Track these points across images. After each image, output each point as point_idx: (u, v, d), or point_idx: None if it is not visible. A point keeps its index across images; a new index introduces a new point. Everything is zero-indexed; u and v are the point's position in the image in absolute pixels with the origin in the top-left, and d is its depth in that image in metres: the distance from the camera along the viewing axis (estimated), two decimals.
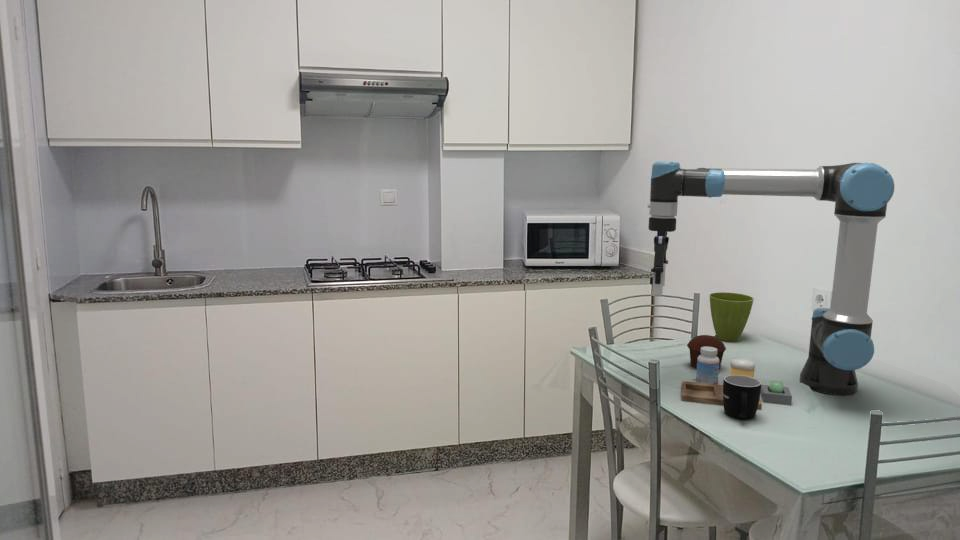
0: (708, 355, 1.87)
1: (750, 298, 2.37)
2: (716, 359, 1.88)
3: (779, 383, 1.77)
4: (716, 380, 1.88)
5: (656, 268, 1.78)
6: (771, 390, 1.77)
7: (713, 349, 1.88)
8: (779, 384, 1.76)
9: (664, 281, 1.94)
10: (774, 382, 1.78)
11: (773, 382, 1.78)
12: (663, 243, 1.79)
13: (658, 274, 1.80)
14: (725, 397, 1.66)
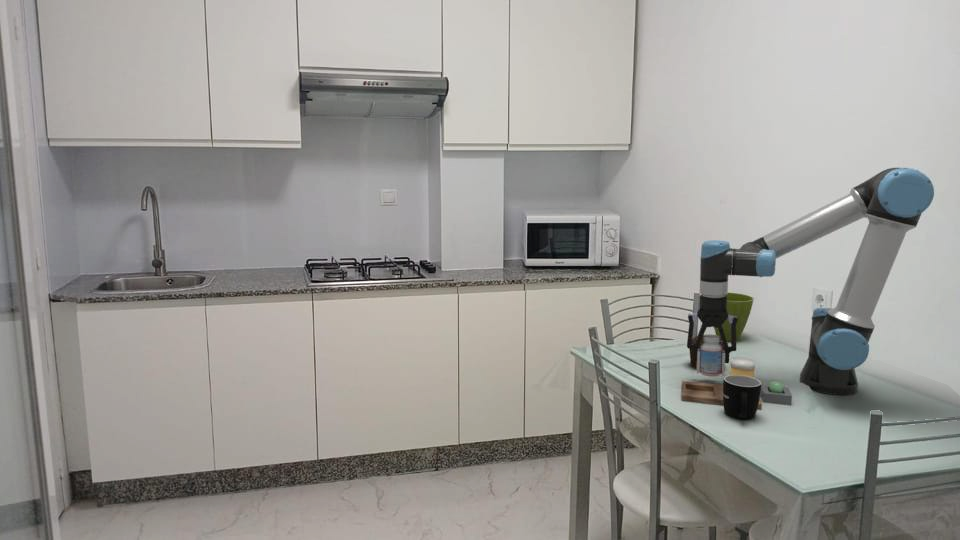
0: (711, 343, 1.87)
1: (750, 298, 2.37)
2: (719, 346, 1.87)
3: (779, 383, 1.77)
4: (720, 368, 1.88)
5: None
6: (771, 390, 1.77)
7: (716, 337, 1.88)
8: (779, 384, 1.76)
9: None
10: (774, 382, 1.78)
11: (773, 382, 1.78)
12: (689, 322, 1.89)
13: None
14: (725, 397, 1.66)
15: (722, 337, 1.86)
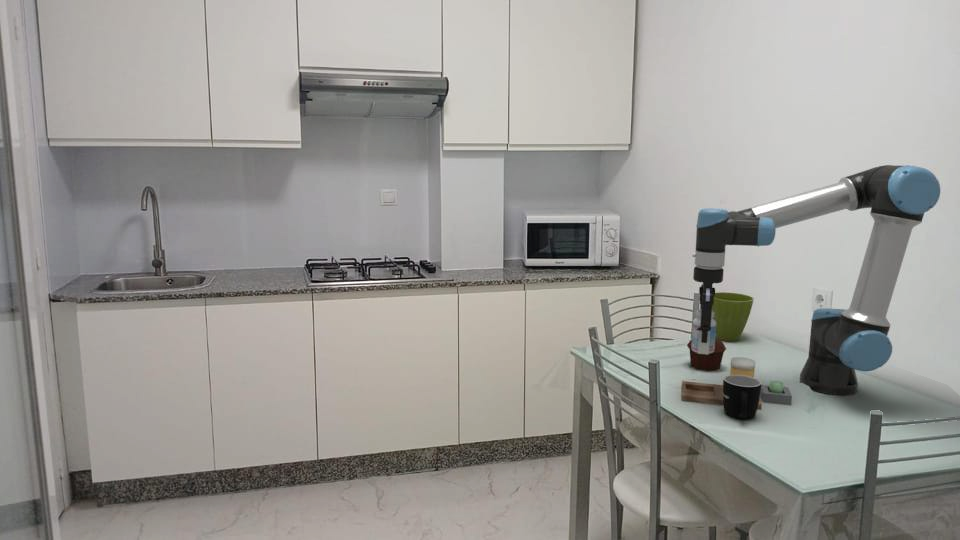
0: None
1: (750, 298, 2.37)
2: None
3: (779, 383, 1.77)
4: None
5: (703, 328, 1.71)
6: (771, 390, 1.77)
7: None
8: (779, 384, 1.76)
9: None
10: (774, 382, 1.78)
11: (773, 382, 1.78)
12: (711, 301, 1.70)
13: (705, 333, 1.73)
14: (725, 397, 1.66)
15: None
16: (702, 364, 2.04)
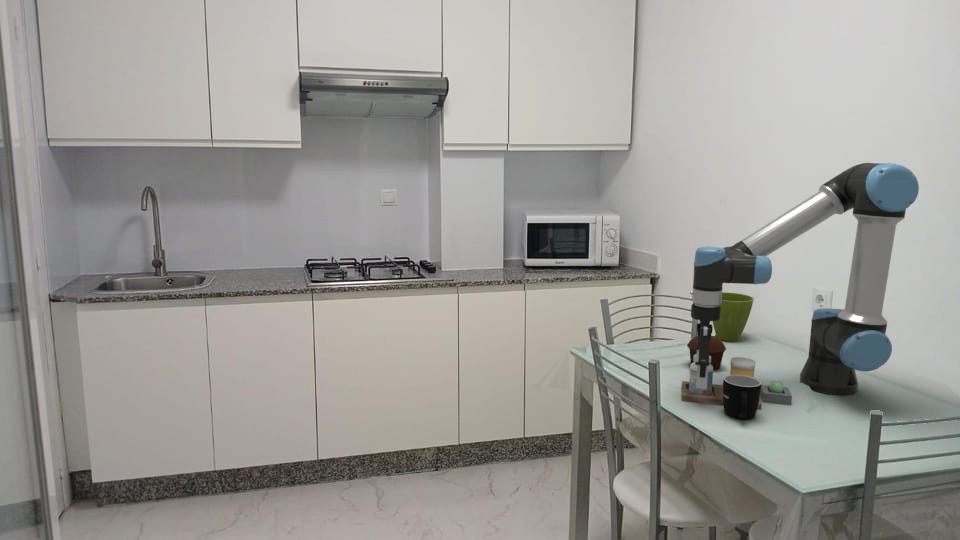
0: (710, 362, 1.78)
1: (750, 298, 2.37)
2: None
3: (779, 383, 1.77)
4: None
5: (702, 362, 1.70)
6: (771, 390, 1.77)
7: None
8: (779, 384, 1.76)
9: None
10: (774, 382, 1.78)
11: (773, 382, 1.78)
12: (708, 335, 1.71)
13: (703, 367, 1.71)
14: (725, 397, 1.66)
15: None
16: None
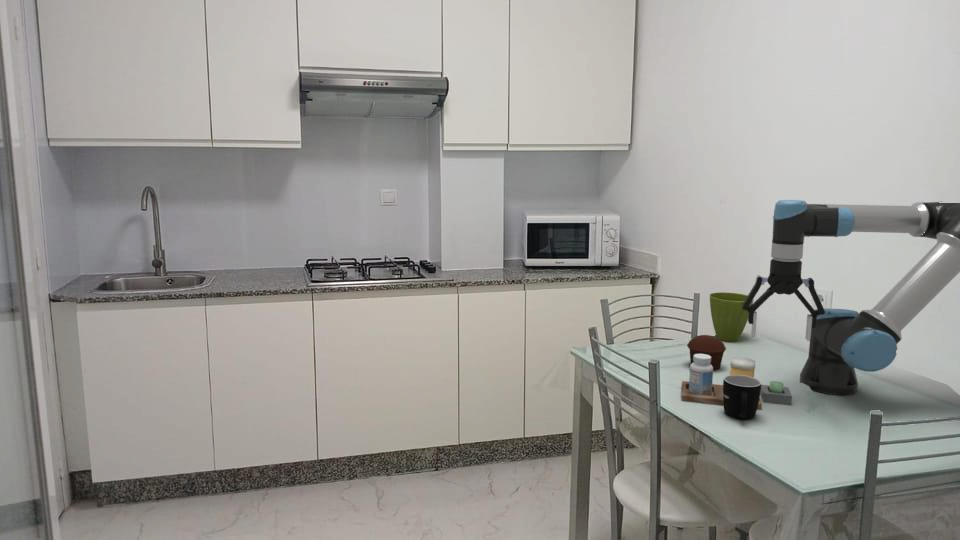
0: None
1: None
2: None
3: (779, 383, 1.77)
4: None
5: (742, 305, 1.77)
6: (771, 390, 1.77)
7: (703, 355, 1.80)
8: (779, 384, 1.76)
9: (807, 335, 1.72)
10: (774, 382, 1.78)
11: (773, 382, 1.78)
12: (756, 283, 1.74)
13: (749, 313, 1.77)
14: (725, 397, 1.66)
15: (803, 302, 1.71)
16: None
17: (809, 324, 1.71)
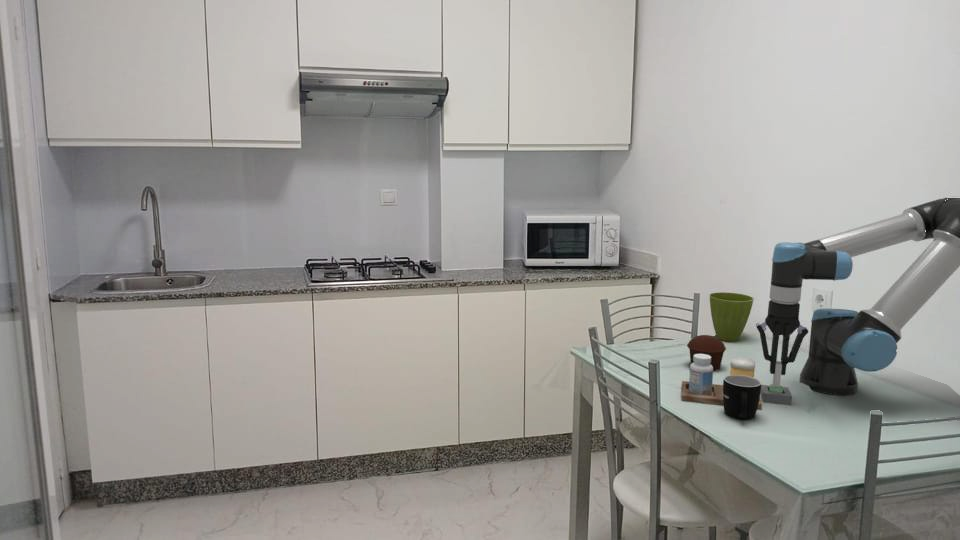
0: None
1: (750, 298, 2.37)
2: None
3: None
4: None
5: None
6: None
7: (703, 355, 1.80)
8: (779, 388, 1.77)
9: (777, 382, 1.76)
10: None
11: None
12: None
13: (770, 363, 1.77)
14: (725, 397, 1.66)
15: (785, 347, 1.74)
16: None
17: (779, 371, 1.76)
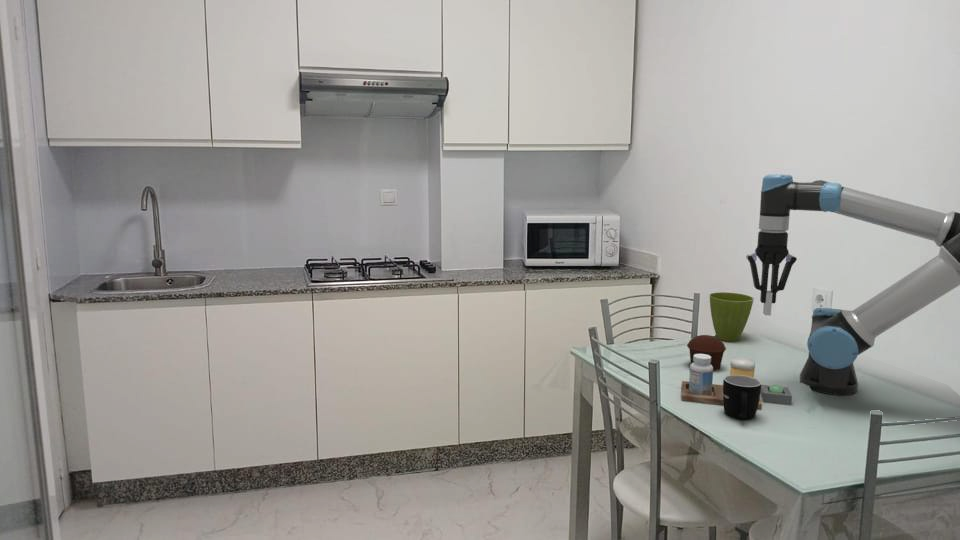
0: None
1: (750, 298, 2.37)
2: None
3: (779, 387, 1.78)
4: None
5: (755, 286, 1.84)
6: None
7: (703, 355, 1.80)
8: (779, 388, 1.77)
9: (768, 310, 1.83)
10: (774, 386, 1.78)
11: (773, 386, 1.78)
12: (750, 263, 1.82)
13: (761, 292, 1.83)
14: (725, 397, 1.66)
15: (775, 275, 1.81)
16: None
17: (769, 300, 1.82)
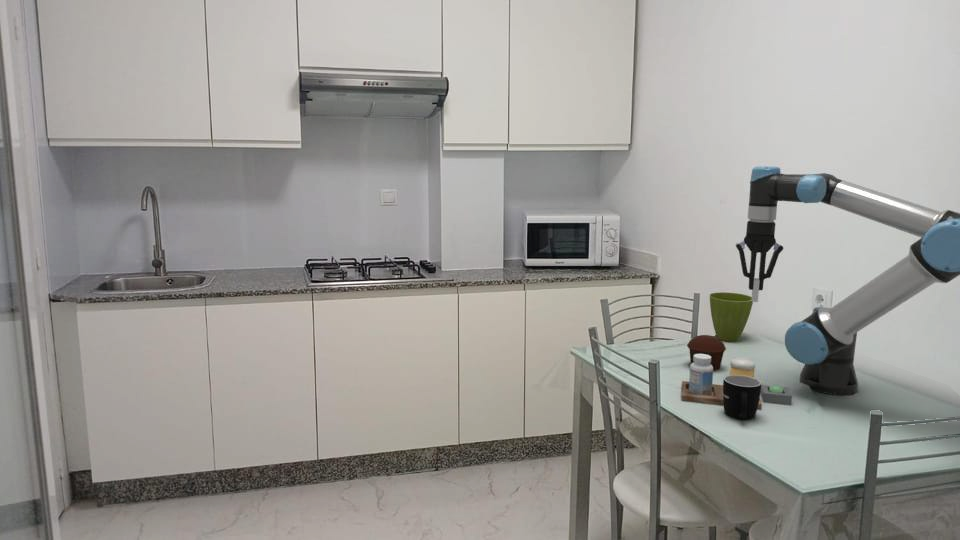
0: None
1: (750, 298, 2.37)
2: None
3: (779, 387, 1.78)
4: None
5: None
6: None
7: (704, 355, 1.80)
8: (779, 388, 1.77)
9: (755, 296, 1.90)
10: (774, 386, 1.78)
11: (773, 386, 1.78)
12: None
13: None
14: (725, 397, 1.66)
15: (762, 263, 1.88)
16: None
17: (757, 287, 1.90)
